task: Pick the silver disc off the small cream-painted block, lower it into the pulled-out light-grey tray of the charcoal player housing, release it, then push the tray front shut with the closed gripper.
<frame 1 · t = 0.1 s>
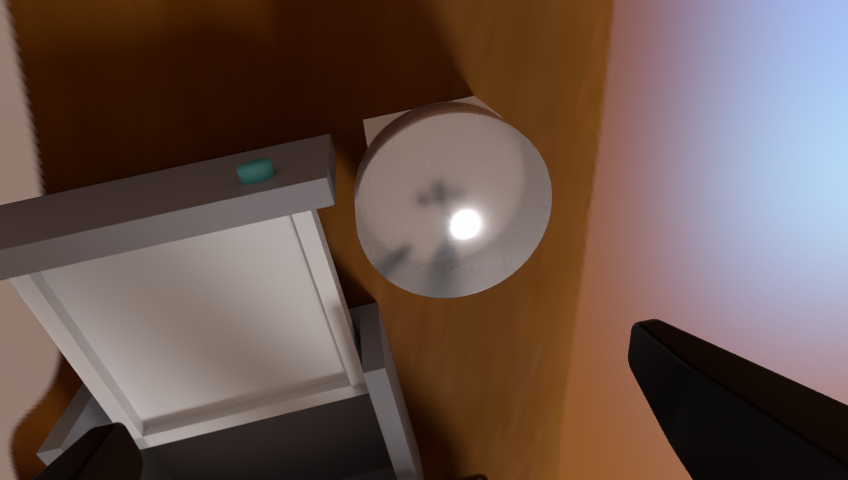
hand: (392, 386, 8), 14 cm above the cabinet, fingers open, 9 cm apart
disc: (445, 193, 18), point 4 cm above the cabinet, touching block
housing: (277, 419, 28), on the cabinet
block: (428, 161, 22), on the cabinet
tray: (197, 326, 20), point 3 cm above the cabinet, slide at 8.0 cm
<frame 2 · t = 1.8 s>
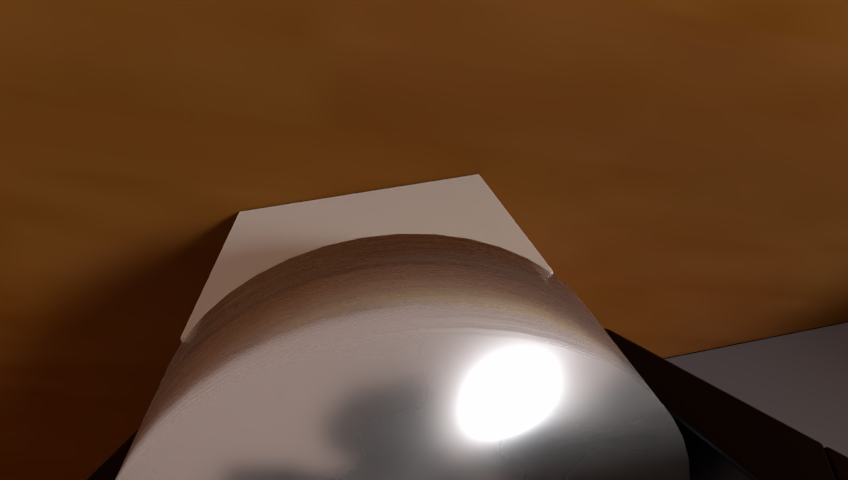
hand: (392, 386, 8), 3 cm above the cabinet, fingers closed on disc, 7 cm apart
disc: (398, 431, 7), point 4 cm above the cabinet, touching block, gripper
block: (379, 291, 11), on the cabinet
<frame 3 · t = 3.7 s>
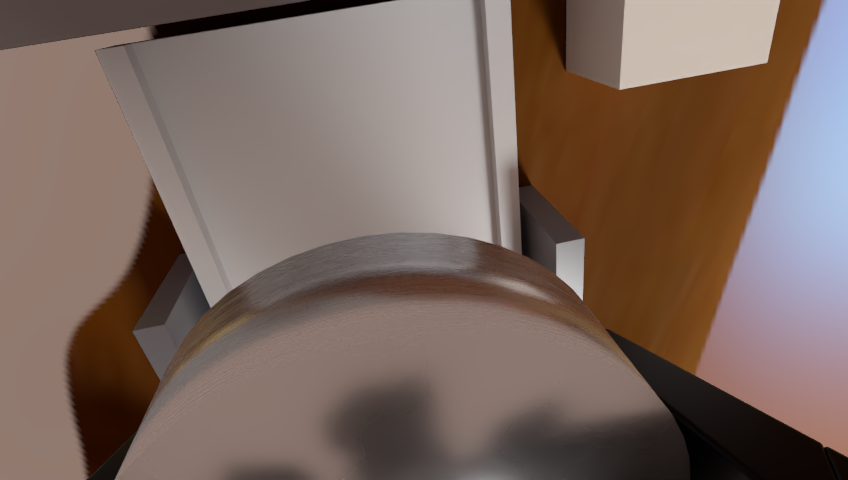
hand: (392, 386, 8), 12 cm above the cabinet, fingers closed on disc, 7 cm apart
disc: (398, 430, 7), point 13 cm above the cabinet, touching gripper
housing: (387, 336, 23), on the cabinet
tray: (345, 176, 16), point 3 cm above the cabinet, slide at 8.0 cm
when the fingers open (3 cm above the cabinet, at t = 5.9 s): disc drops 3 cm, resting on tray.
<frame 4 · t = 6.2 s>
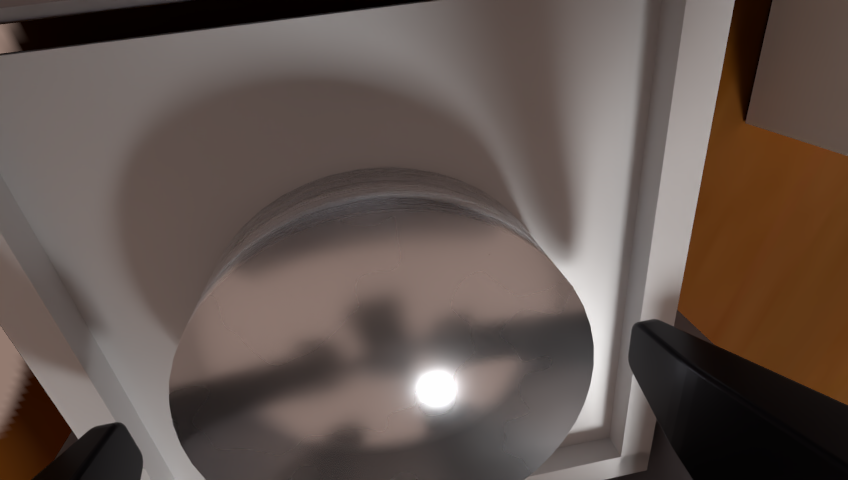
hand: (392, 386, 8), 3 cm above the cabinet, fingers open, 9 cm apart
disc: (385, 330, 10), point 2 cm above the cabinet, touching tray
tray: (381, 324, 8), point 3 cm above the cabinet, slide at 8.0 cm, touching disc
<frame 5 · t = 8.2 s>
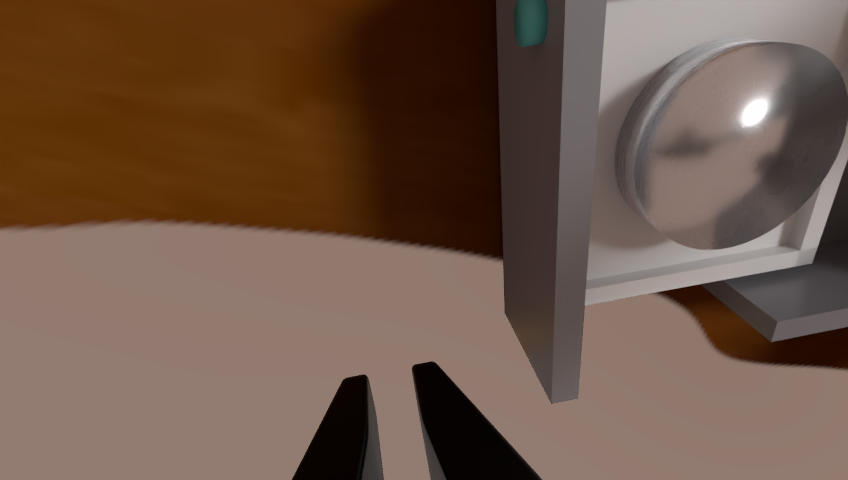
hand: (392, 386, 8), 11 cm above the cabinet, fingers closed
disc: (705, 140, 17), point 2 cm above the cabinet, touching tray
tray: (699, 154, 16), point 3 cm above the cabinet, slide at 8.0 cm, touching disc
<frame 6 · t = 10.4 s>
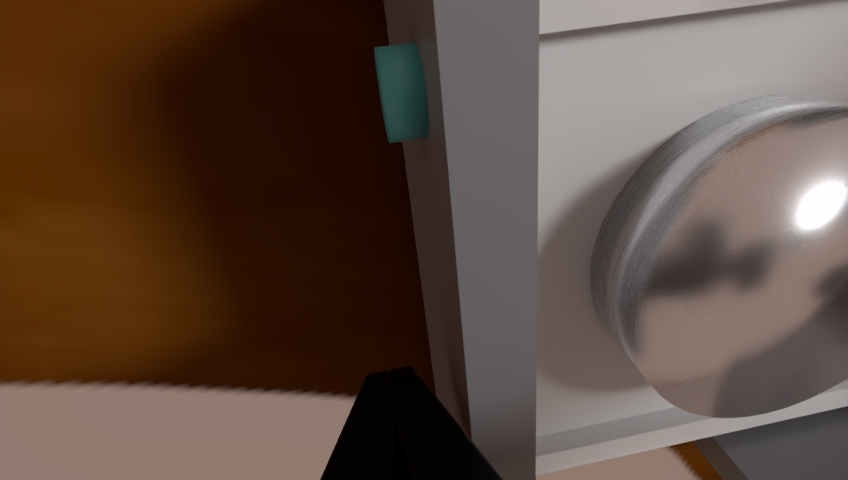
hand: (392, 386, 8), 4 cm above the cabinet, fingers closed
disc: (730, 245, 11), point 2 cm above the cabinet, touching tray
tray: (723, 278, 10), point 3 cm above the cabinet, slide at 6.6 cm, touching disc, gripper
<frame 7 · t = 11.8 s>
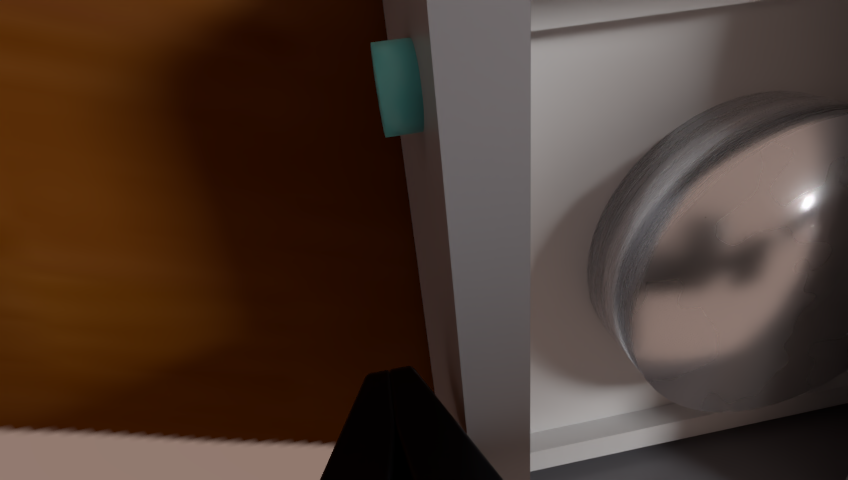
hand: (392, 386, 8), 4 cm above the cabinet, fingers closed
disc: (726, 241, 11), point 2 cm above the cabinet, touching tray
housing: (702, 206, 13), on the cabinet
tray: (719, 275, 10), point 3 cm above the cabinet, slide at 0.2 cm, touching disc, gripper
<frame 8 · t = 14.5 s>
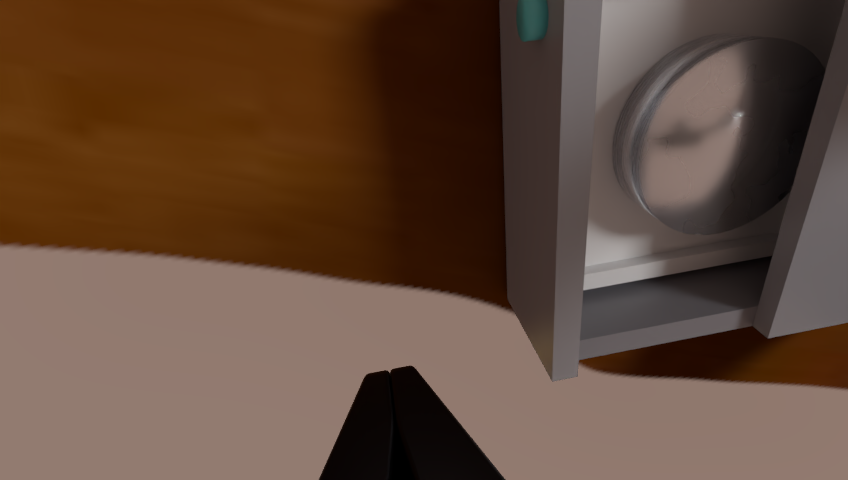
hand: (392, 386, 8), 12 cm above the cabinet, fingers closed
disc: (697, 131, 18), point 2 cm above the cabinet, touching tray
housing: (680, 118, 20), on the cabinet
tray: (691, 144, 17), point 3 cm above the cabinet, slide at 0.1 cm, touching disc
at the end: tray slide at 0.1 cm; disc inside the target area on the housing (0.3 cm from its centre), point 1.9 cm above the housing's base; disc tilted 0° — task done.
